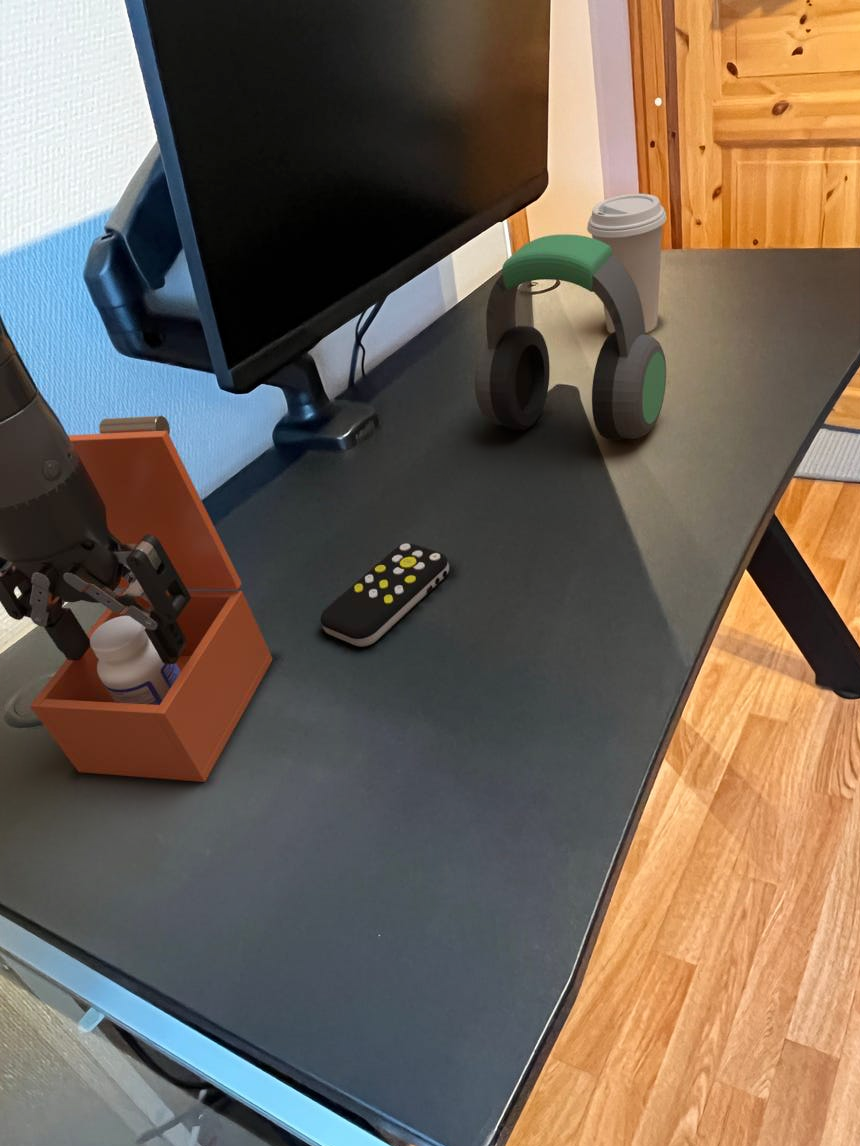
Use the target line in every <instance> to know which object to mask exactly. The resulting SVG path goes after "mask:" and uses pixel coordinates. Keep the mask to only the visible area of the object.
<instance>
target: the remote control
mask: <svg viewBox="0 0 860 1146" xmlns="http://www.w3.org/2000/svg"><path fill="white" fill-rule="evenodd" d="M449 572H450V564H449V560H448V558H447V556H446V555H445V554H444V553H442V552H440V551H436V550H433V549H431V548H427V547H424V546H421V545H418V544H415V543H403V544H401V545H398V546H397V547H395V548H394V549H392V551H390V553H388V554H387V555H386V556H385V557H383V559H381V560H380V561H379V562H378V563H377V564H375V565H374V566H373V567H372V568H371V569H370V570H369V571H367V572H366V573H365V574H364V575H363V576H362V577H361V578H359V579H358V580H357V581H356V582H354V584H352V585H351V586H350V587H349V588H347V589H346V590H345V591H344V592H343V593H342V594H341V595H340V596H338V597H337V598H336V599H335V600H333V602H332V603H330V604H329V605H328V606H327V607H326V608H325V609H324V610H322V612H321V614H320V618H319V620H320V624H321V626H322V629H323V630H324V632H325V633H326V634H327V635H330V636H332V637H334V638H337V639H339V640H341V641H343V642H346V643H348V644H351V645H353V646H357V647H367V646H371V645H373V644H375V643H376V642H377V641H378V640H380V639H381V637H383V635H385V634H386V633H387V632H388V631H389V630H390V629H391V628H392V627H393V626H394V625H396V624H397V623H398V621H400V620H401V619H402V618H403V617H404V616H405V615H406V614H408V612H410V611H411V609H412V608H414V607H415V606H416V605H417V604H418V603H419V602H420V601H421V600H422V599H424V598H425V596H427V595H428V593H430V592H431V591H432V590H433V589H434V588H435V587H437V585H438V584H439V583H441V581H443V580H444V579H445V578H446V577H447V575H448V574H449Z"/></svg>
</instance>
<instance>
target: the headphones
mask: <svg viewBox="0 0 860 1146" xmlns="http://www.w3.org/2000/svg"><path fill="white" fill-rule="evenodd" d="M501 268H502V269H501V275H500V276H499V277H498V278H497V279H496V281H495V282H494V285H493V286H492V289H491V290H490V293H489V297H488V301H487V306H486V317H485V326H486V327H485V328H486V339H485V341H484V342H483V344H482V345H481V348H480V351H479V353H478V357H477V359H476V364H475V370H474V392H475V397H476V402H477V406H478V408H479V410H480V412H481V414H483V416H484V417H485V418H486V420H488V421H489V423H492V424H495V425H498V426H505V427H506V428H508V429H511V430H518V431H519V430H520V431H522V430H526V429H530V428H532V426H534V424H536V422H537V421H538V420H539V418H540V416H541V414H542V412H543V410H544V407H545V404H546V400H547V396H548V391H549V385H550V367H551V366H550V365H551V364H550V355H549V350H548V345H547V343H546V342H547V341H546V340H545V338H544V336H543V334H542V333H541V332H540V330H538V329H537V328H535V327H534V326H529V325H517V322H516V302H517V293H518V288H519V286H520V285H522V284H524V283H528V282H532V281H542V280H543V281H544V280H545V281H546V280H548V281H549V280H551V281H562V282H567V283H570V284H574V285H577V286H579V287H581V288H583V289H586V290H587V291H588V292H590V293H594V294H595V295H596V296H597V297H598V298H599V300H600V301H601V303H602V305H603V304H604V305H605V307H606V309H607V310H608V312H609V315H610V317H611V319H612V322H613V325H614V328H615V332H613V333H609V335H608V336H607V337H606V338H605V340H604V342H603V343H602V345H601V347H600V350H599V353H598V356H597V359H596V362H595V366H594V367H595V368H594V372H593V377H592V387H591V411H592V418H593V423H594V426H595V429H596V431H597V433H598V434H599V435H600V436H601V437H603V438H605V439H607V440H616V441H619V440H623V439H639V438H642V437H644V436H646V435H647V434H648V433H650V432H651V430H652V429H653V428H654V427H655V425H656V423H657V421H658V419H659V416H660V414H661V411H662V408H663V403H664V400H665V399H664V398H665V394H666V393H665V392H666V387H667V386H666V385H667V362H666V355H665V352H664V350H663V347H662V345H661V343H660V342H659V341H658V340H657V339H656V338H655V337H654V336H653V335H648V334H647V333H646V332H645V323H644V316H643V310H642V305H641V301H640V297H639V294H638V291H637V288H636V285H635V283H634V281H633V279H632V277H631V275H630V274H629V272H628V271H627V269H626V268H625V266H624V265H623V264H622V263H621V262H620V261H619V260H618V259H617V258H616V257H615V256H614V255H613V254H612V249H611V247H610V246H609V245H607V244H605V243H603V242H601V241H598V240H596V239H593V238H592V237H589V236H585V235H579V234H567V233H566V234H565V233H563V234H551V235H544V236H542V237H537V238H535V239H532V240H531V241H529V242H527V243H525V244H524V245H522V246H521V247H519V249H518V250H516V251H515V252H514V253H513V254H512V255H511V256H509V258H508V259H506V260H505V261H504V262H503V264H502V267H501ZM604 305H603V306H604Z"/></svg>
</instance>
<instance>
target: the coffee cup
mask: <svg viewBox="0 0 860 1146" xmlns="http://www.w3.org/2000/svg"><path fill="white" fill-rule="evenodd" d="M667 218H668V217H667V214H666V211H665V208H664V206H663V205H661V201H660V198H659V197H658V196H656V195H653V194H649V193H629V194H628V193H627V194H622V195H617V196H612V197H609V198H607V199H604V200H602V201H600V202H598V203H597V204H595V205H594V206H593V208H592V211H591V216H589V218H588V222H587V227H586V230H587V233H589V234H590V235H591V238H593V239H596V240H598V241H601V242H603V243H605V244H607V245H609V246H610V247H611V249H612V254H613V255H614V256H615V257H616V258H617V259H618V260H619V261H620V262H621V263H622V264H623V265H624V266H625V268H626V269H627V271H628V272H629V274H630V275H631V277H632V279H633V281H634V283H635V285H636V288H637V291H638V294H639V297H640V301H641V305H642V310H643V316H644V323H645V332H646V334H648V333H649V332H652V331H653V330H654V329H656V327H657V326H658V318H659V317H658V315H659V297H660V279H661V259H662V242H663V241H662V240H663V225H664V224H665V223H666V221H667V220H668V219H667ZM602 305H603V310H604V312H603V313H604V317H605V323H606V329H607V332H608V333H609V334H611V333H613V332H615V328H614V325H613V322H612V319H611V317H610V315H609V312H608V310H607V309H606V307H605V305H604V304H603V303H602Z"/></svg>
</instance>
